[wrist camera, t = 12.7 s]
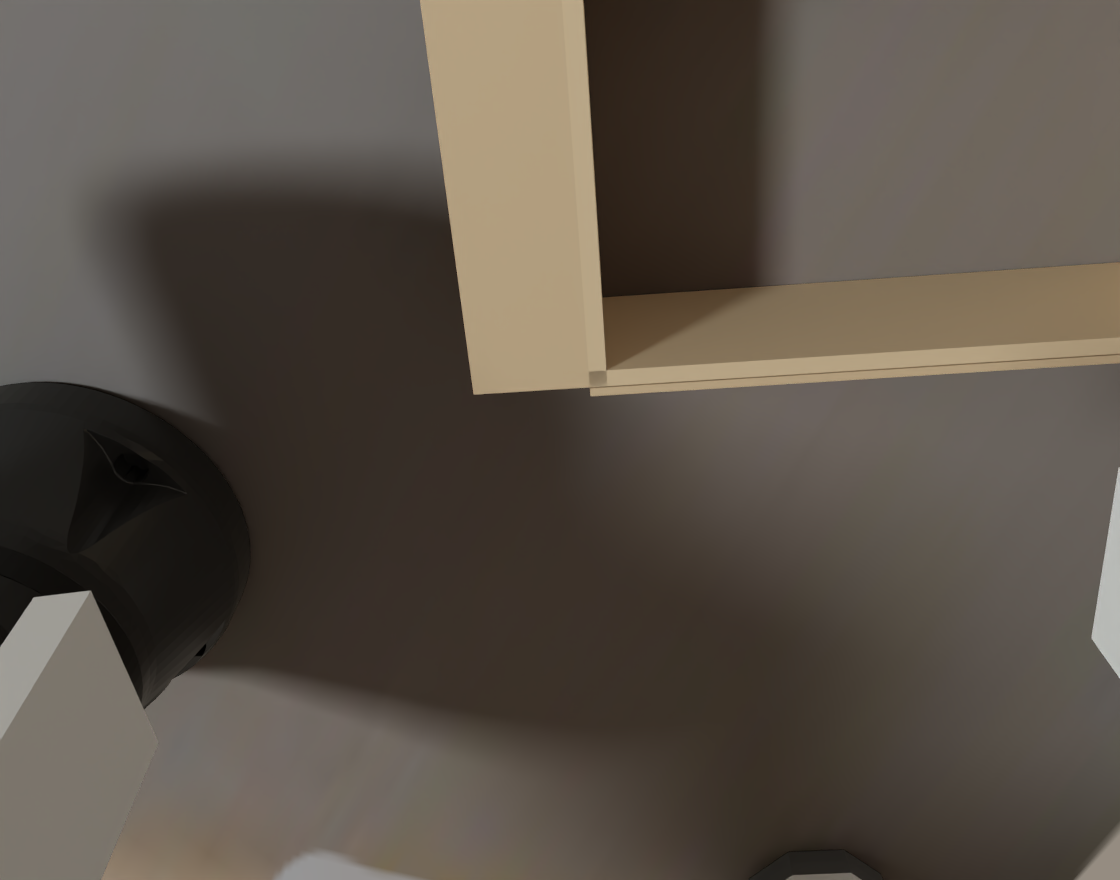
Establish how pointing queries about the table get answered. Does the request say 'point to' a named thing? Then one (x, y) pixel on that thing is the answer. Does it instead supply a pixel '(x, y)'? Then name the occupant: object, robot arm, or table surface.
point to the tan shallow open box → (683, 317)
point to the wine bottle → (817, 867)
